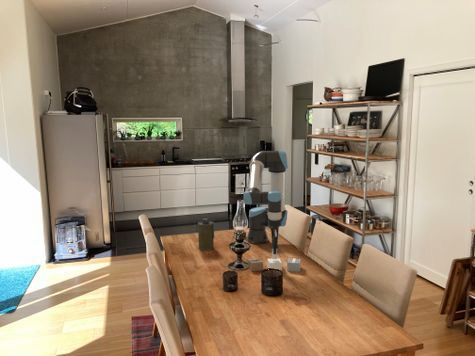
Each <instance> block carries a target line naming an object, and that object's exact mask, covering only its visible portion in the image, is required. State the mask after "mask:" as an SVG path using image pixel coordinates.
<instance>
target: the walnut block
mask: <svg viewBox="0 0 475 356" xmlns="http://www.w3.org/2000/svg"><path fill="white" fill-rule="evenodd" d="M247 268H248V269H249V270H250V272H257V271H263V270H264V262H263V260H262V259H261V258H260V257H253V258H251V257H250V258H247Z"/></svg>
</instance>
